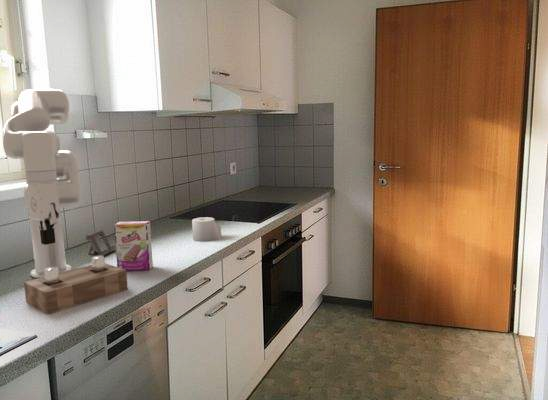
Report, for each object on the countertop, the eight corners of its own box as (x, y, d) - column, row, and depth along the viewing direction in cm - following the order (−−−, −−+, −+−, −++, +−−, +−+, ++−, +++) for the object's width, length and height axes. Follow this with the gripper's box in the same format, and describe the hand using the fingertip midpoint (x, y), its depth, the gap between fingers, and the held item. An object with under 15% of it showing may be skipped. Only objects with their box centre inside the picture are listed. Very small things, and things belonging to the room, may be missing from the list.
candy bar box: (117, 271, 164) (113, 224, 161) (121, 267, 168) (117, 221, 166) (150, 270, 164) (146, 223, 161) (153, 266, 169) (150, 220, 166)
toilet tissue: (226, 236, 209) (225, 217, 208) (201, 242, 200) (200, 222, 198) (213, 233, 215) (212, 214, 214) (188, 239, 206) (187, 219, 205)
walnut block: (26, 302, 138) (23, 282, 137) (103, 280, 155) (102, 262, 154) (48, 314, 128) (45, 292, 127) (127, 289, 146) (126, 270, 145)
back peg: (90, 275, 146) (89, 257, 145) (101, 272, 149) (100, 254, 148) (96, 277, 144) (95, 259, 143) (107, 274, 146) (106, 256, 146)
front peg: (43, 287, 136) (41, 269, 135) (56, 284, 138) (54, 265, 138) (49, 290, 133) (47, 271, 133) (62, 287, 136) (60, 268, 135)
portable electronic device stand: (103, 257, 182) (101, 235, 181) (84, 256, 184) (82, 235, 183) (115, 251, 191) (113, 230, 189) (98, 250, 193) (96, 229, 191)
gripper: (15, 177, 133) (23, 242, 136) (39, 180, 123) (46, 250, 126) (43, 175, 138) (50, 237, 141) (67, 177, 129) (74, 244, 131)
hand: (48, 243), depth 133 cm, fingers closed
